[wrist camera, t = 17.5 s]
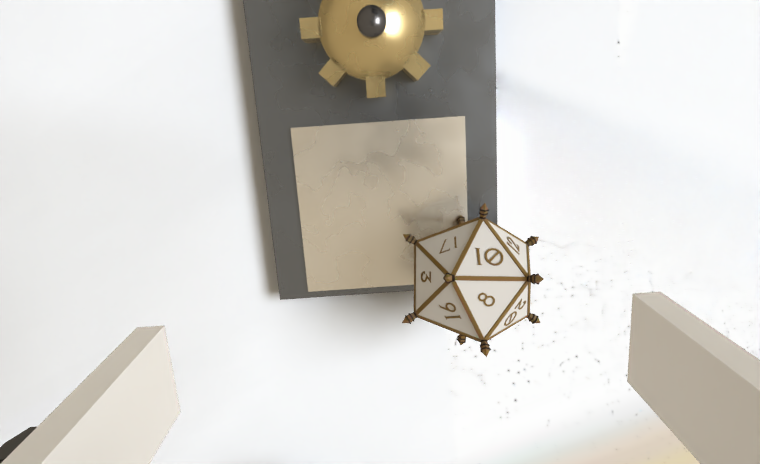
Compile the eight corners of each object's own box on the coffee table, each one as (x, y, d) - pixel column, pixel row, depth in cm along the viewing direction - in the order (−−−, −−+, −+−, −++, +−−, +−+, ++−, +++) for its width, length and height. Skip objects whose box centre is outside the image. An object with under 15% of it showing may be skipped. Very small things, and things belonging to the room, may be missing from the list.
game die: (357, 295, 35) (482, 374, 35) (369, 300, 26) (532, 404, 27) (426, 185, 36) (546, 263, 37) (459, 156, 28) (613, 257, 28)
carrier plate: (241, -48, 31) (218, -74, 27) (489, -65, 31) (510, -94, 27) (283, 293, 37) (270, 322, 32) (493, 278, 37) (511, 305, 32)
